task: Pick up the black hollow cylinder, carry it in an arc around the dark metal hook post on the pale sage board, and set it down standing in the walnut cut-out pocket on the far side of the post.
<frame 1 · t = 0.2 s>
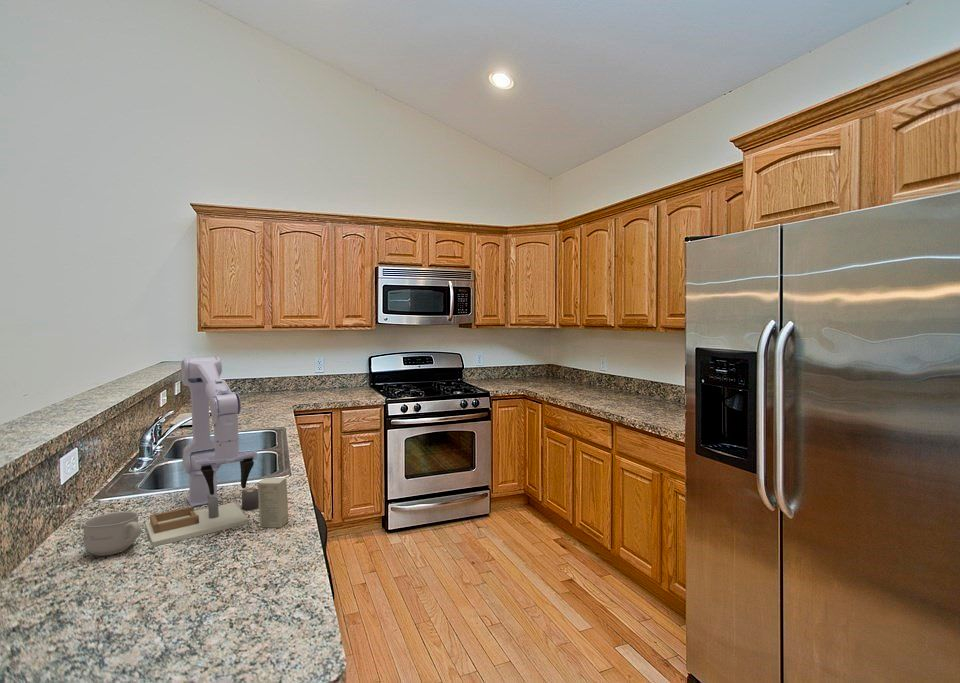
hand: (227, 490, 134), 10 cm above the countertop, tool pointing down, fingers open, 7 cm apart
board: (197, 524, 136), on the countertop
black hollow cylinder: (250, 507, 148), on the countertop
teacup: (116, 552, 121), on the countertop
skincare box: (273, 525, 136), on the countertop
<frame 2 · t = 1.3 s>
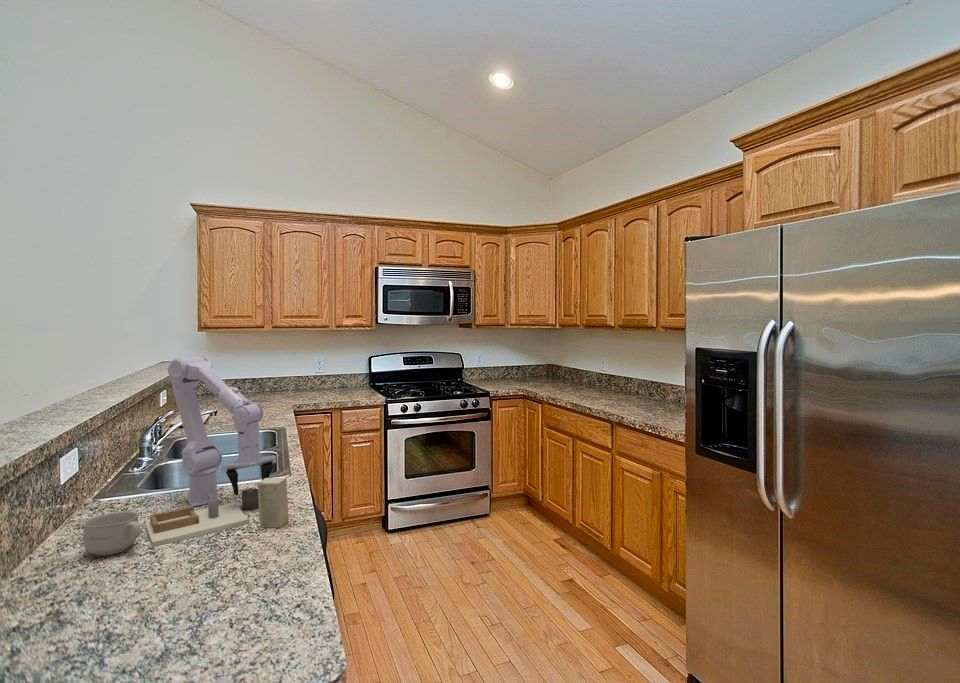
hand: (250, 491, 148), 5 cm above the countertop, tool pointing down, fingers open, 7 cm apart
nothing on the countertop moved.
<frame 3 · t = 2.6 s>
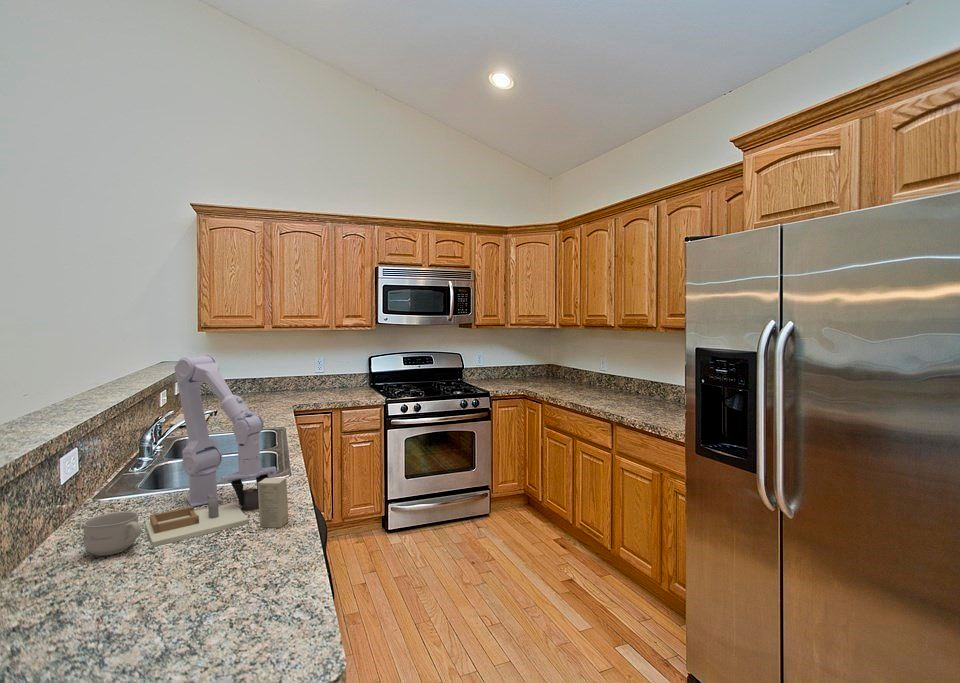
hand: (250, 502, 148), 1 cm above the countertop, tool pointing down, fingers closed on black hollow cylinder, 4 cm apart
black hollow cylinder: (250, 507, 148), on the countertop, touching gripper
everything else where it was.
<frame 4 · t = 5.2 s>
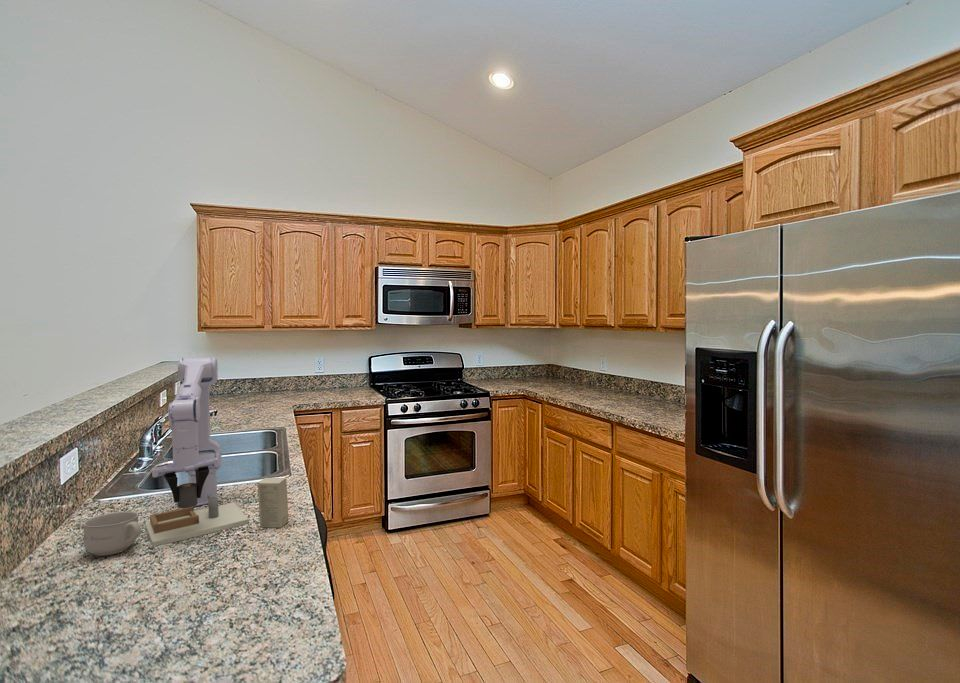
hand: (187, 499, 129), 9 cm above the countertop, tool pointing down, fingers closed on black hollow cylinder, 4 cm apart
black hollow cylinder: (187, 505, 129), point 8 cm above the countertop, touching gripper
everything else where it was.
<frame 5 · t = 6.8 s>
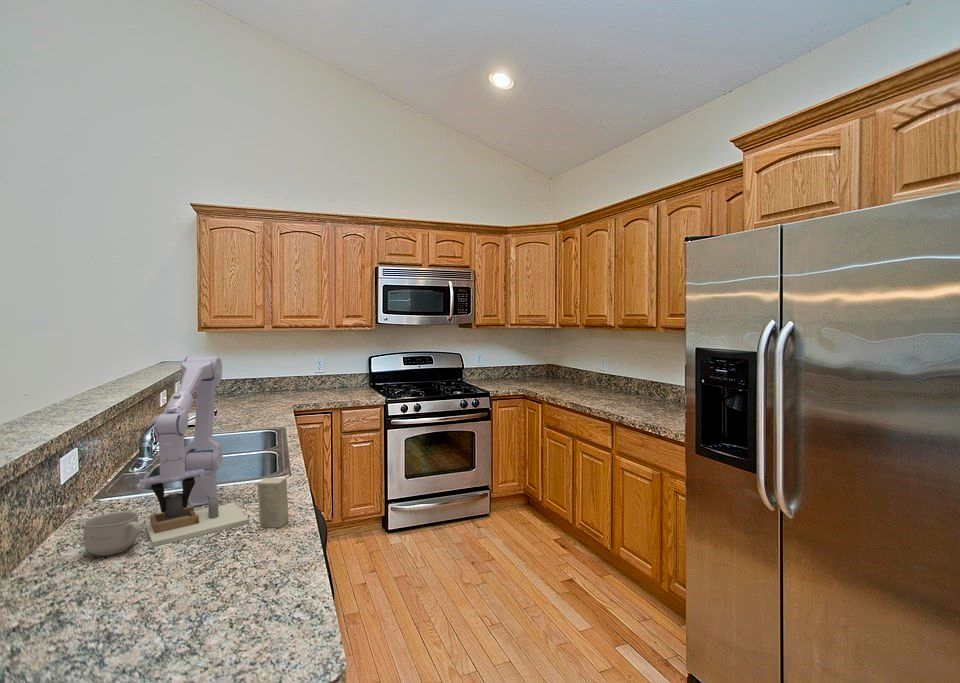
hand: (174, 509, 134), 5 cm above the countertop, tool pointing down, fingers closed on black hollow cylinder, 4 cm apart
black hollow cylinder: (174, 514, 134), point 3 cm above the countertop, touching gripper
everything else where it was.
when the fingers open (4 cm above the countertop, at t = 7.9 s): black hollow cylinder drops 1 cm, resting on board.
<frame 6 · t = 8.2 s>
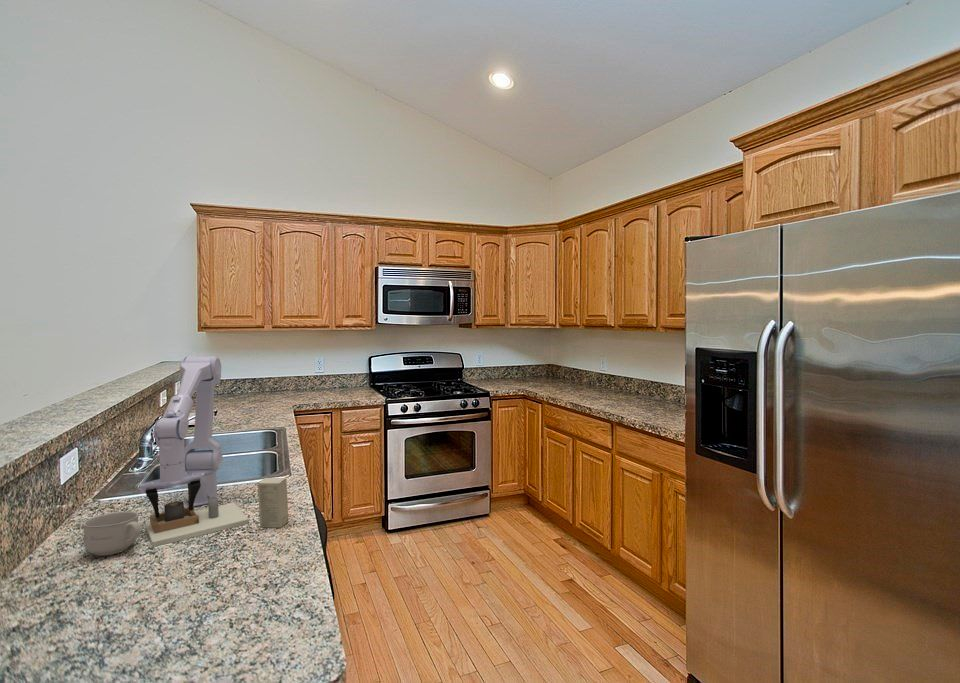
hand: (174, 512, 134), 4 cm above the countertop, tool pointing down, fingers open, 7 cm apart
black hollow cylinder: (174, 522, 134), point 1 cm above the countertop, touching board
everything else where it was.
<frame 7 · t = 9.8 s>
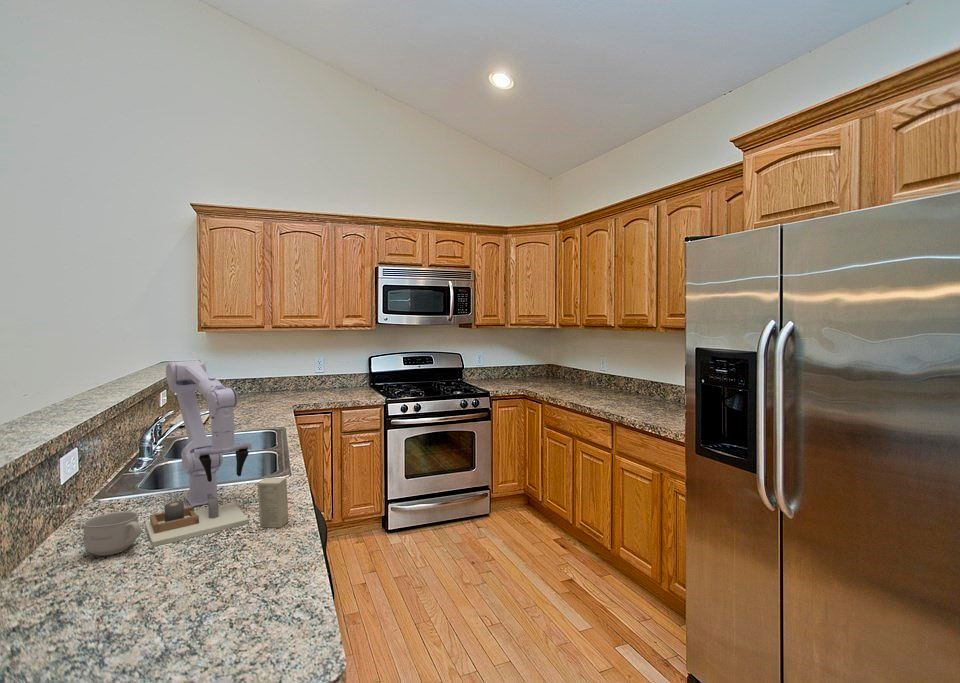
hand: (224, 478, 144), 10 cm above the countertop, tool pointing down, fingers open, 7 cm apart
nothing on the countertop moved.
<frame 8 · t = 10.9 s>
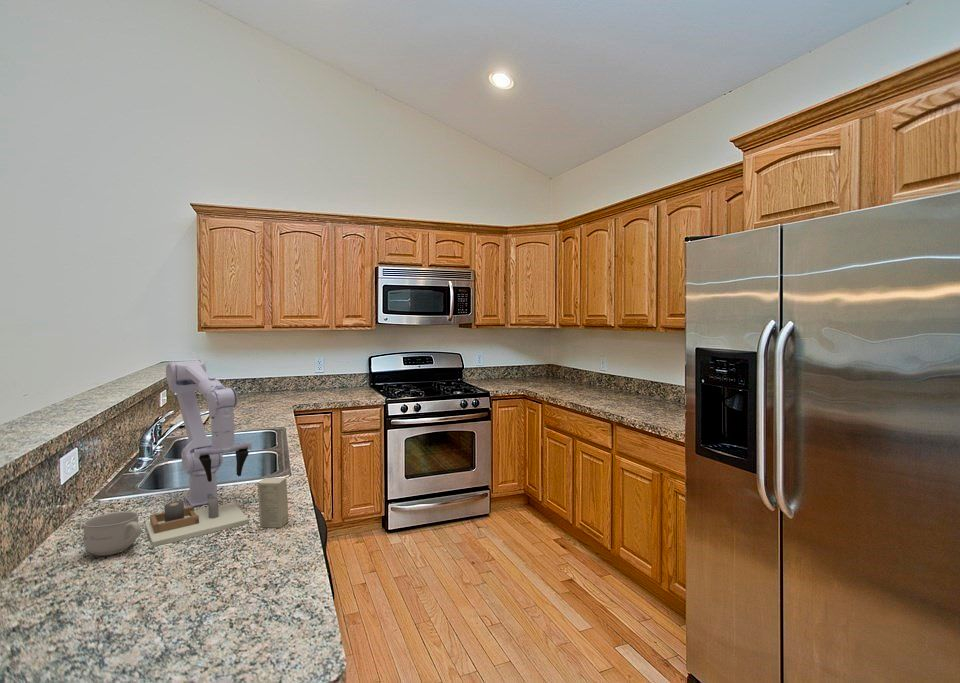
hand: (224, 478, 144), 10 cm above the countertop, tool pointing down, fingers open, 7 cm apart
nothing on the countertop moved.
at the end: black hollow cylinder inside the target area on the board (0.0 cm from its centre), point 1.2 cm above the board's base; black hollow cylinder tilted 0°; the gripper is holding nothing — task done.
